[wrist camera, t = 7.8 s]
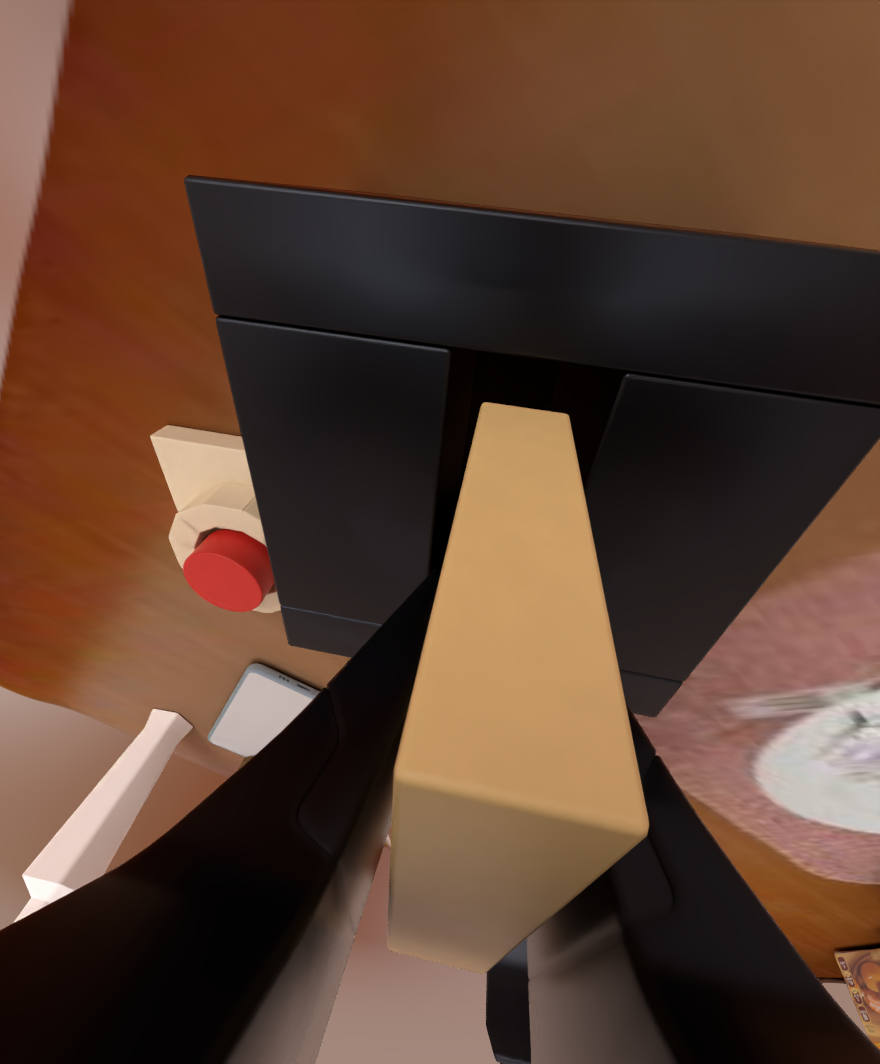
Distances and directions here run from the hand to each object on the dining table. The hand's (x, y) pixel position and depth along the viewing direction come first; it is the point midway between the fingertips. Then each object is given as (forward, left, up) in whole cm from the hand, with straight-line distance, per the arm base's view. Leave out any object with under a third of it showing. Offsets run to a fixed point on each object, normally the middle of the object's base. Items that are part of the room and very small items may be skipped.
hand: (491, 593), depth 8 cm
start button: (+11, +8, -7) cm, 15 cm away
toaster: (0, 0, -10) cm, 10 cm away
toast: (0, 0, -2) cm, 2 cm away
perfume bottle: (+25, +34, -10) cm, 43 cm away
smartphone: (+14, +29, -10) cm, 34 cm away
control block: (+11, +8, -10) cm, 17 cm away
